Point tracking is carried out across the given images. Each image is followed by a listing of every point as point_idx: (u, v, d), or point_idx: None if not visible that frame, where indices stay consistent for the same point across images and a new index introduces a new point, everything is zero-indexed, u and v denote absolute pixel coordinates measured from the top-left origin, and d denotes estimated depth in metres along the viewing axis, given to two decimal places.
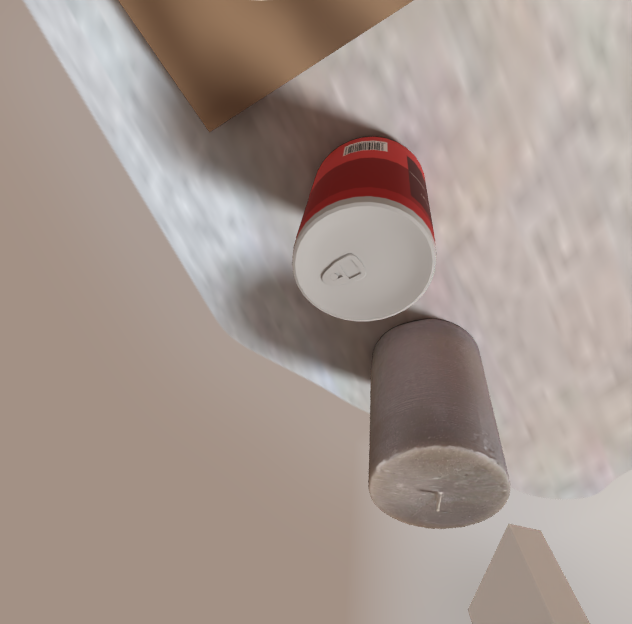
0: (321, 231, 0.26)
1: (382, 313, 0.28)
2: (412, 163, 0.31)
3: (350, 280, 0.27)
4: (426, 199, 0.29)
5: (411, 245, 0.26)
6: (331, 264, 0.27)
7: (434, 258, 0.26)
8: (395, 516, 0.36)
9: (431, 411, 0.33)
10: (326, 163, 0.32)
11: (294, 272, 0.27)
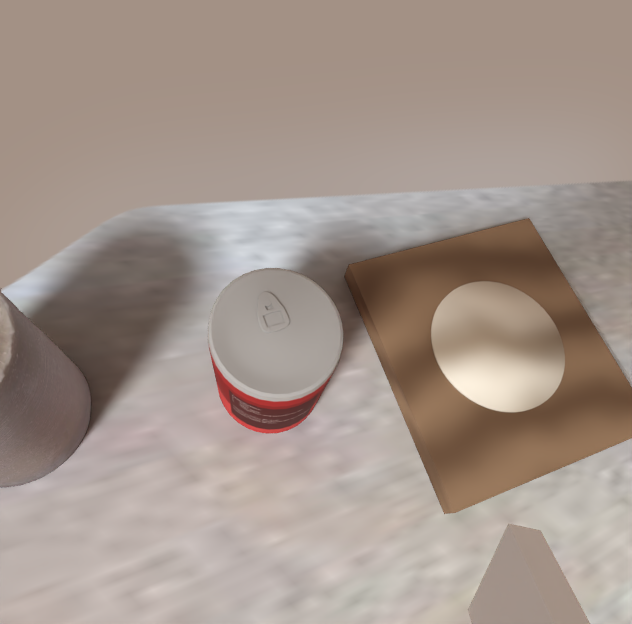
0: (318, 302, 0.28)
1: (216, 338, 0.26)
2: (303, 417, 0.33)
3: (259, 316, 0.28)
4: (290, 415, 0.30)
5: (291, 377, 0.26)
6: (280, 303, 0.28)
7: (275, 396, 0.26)
8: None
9: (33, 375, 0.25)
10: None
11: (281, 270, 0.29)
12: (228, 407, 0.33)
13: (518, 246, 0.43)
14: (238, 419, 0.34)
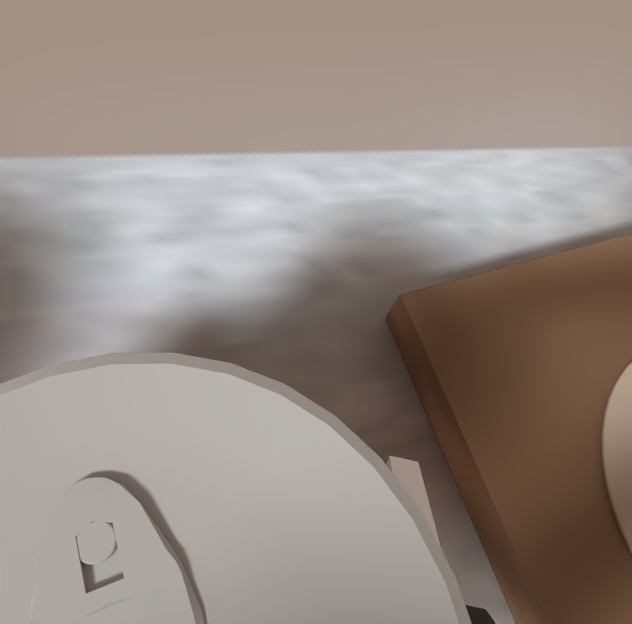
0: (356, 531, 0.06)
1: None
2: None
3: None
4: None
5: None
6: (167, 541, 0.06)
7: None
8: None
9: None
10: None
11: (185, 361, 0.06)
12: None
13: None
14: None
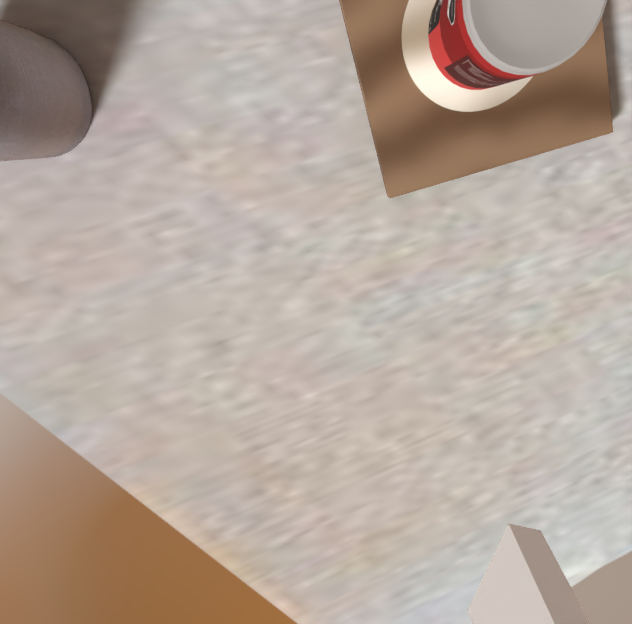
0: None
1: (473, 0, 0.26)
2: None
3: None
4: (512, 81, 0.32)
5: (540, 50, 0.27)
6: None
7: (522, 70, 0.27)
8: None
9: (17, 90, 0.31)
10: None
11: None
12: (443, 63, 0.34)
13: None
14: (449, 75, 0.35)
